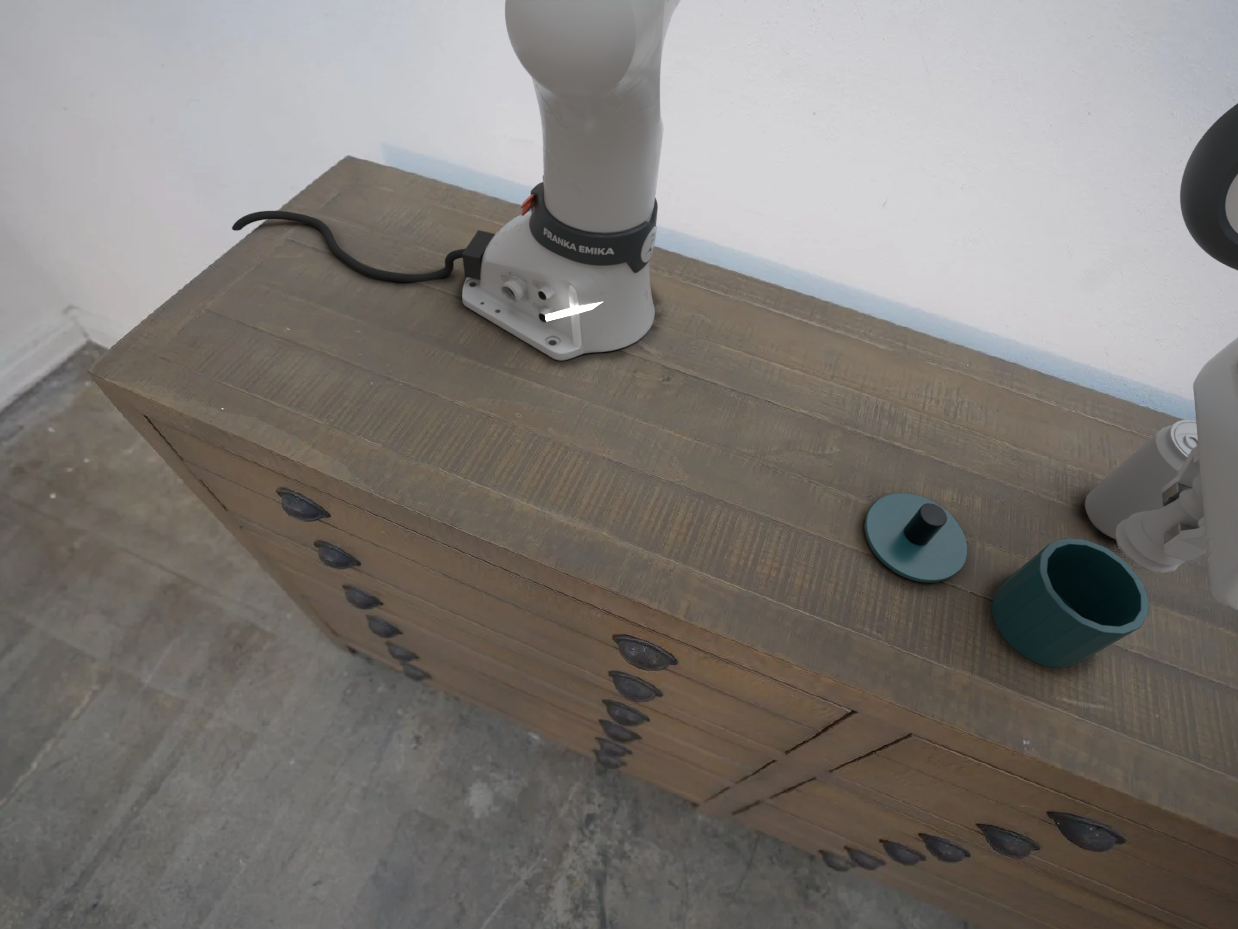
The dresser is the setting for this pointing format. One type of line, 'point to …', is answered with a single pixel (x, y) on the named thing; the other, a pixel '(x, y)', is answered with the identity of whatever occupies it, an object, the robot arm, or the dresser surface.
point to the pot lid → (915, 537)
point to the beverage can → (1141, 477)
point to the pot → (1069, 603)
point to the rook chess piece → (1159, 530)
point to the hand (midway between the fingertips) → (1173, 526)
